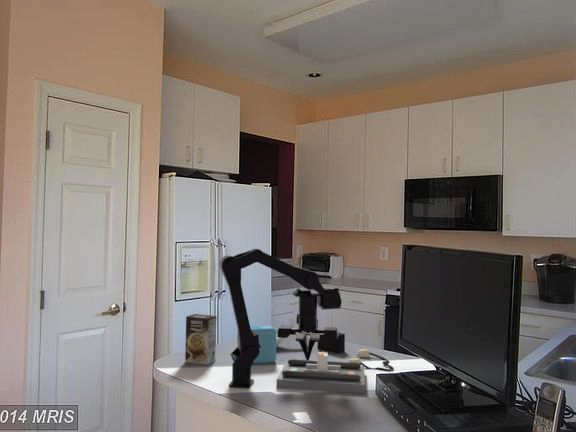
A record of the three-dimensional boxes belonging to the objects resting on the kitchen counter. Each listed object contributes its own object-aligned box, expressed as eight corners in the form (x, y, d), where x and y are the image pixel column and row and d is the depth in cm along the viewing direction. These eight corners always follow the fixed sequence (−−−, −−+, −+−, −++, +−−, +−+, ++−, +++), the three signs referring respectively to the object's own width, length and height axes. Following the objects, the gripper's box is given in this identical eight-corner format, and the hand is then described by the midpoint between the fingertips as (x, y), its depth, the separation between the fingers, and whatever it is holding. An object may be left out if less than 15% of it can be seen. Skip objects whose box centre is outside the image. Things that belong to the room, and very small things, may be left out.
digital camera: (346, 351, 180) (347, 333, 180) (338, 354, 176) (338, 335, 176) (326, 346, 187) (326, 328, 187) (317, 348, 183) (317, 330, 184)
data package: (273, 358, 169) (273, 325, 169) (276, 362, 165) (276, 328, 165) (240, 360, 166) (240, 327, 166) (242, 364, 161) (243, 329, 162)
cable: (399, 361, 170) (399, 351, 170) (392, 374, 154) (392, 364, 154) (357, 356, 175) (357, 346, 175) (346, 368, 160) (346, 358, 160)
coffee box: (184, 362, 163) (185, 316, 163) (193, 357, 169) (194, 313, 169) (207, 365, 160) (208, 318, 160) (216, 360, 166) (216, 315, 166)
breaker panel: (364, 393, 135) (364, 378, 135) (276, 387, 139) (276, 373, 139) (364, 373, 153) (364, 360, 153) (285, 369, 157) (286, 356, 157)
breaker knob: (326, 373, 144) (326, 355, 144) (317, 373, 144) (317, 355, 144) (327, 369, 148) (327, 351, 148) (318, 369, 148) (318, 351, 148)
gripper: (338, 306, 154) (338, 354, 153) (282, 304, 156) (282, 351, 156) (337, 313, 143) (337, 364, 142) (277, 311, 145) (276, 361, 145)
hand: (307, 359), depth 147 cm, fingers closed
